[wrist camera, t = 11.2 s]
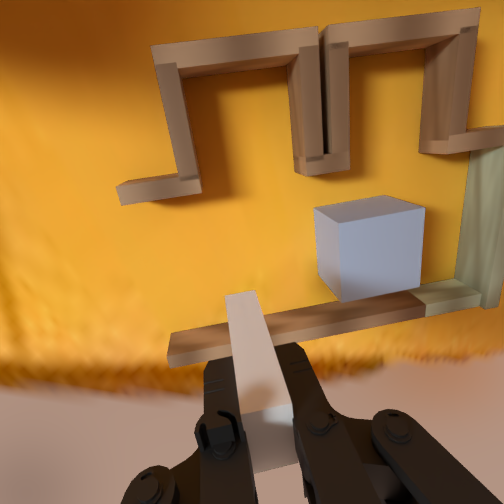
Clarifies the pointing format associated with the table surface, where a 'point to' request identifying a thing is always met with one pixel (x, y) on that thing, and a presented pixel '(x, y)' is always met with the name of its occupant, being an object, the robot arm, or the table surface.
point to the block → (369, 246)
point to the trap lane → (347, 156)
